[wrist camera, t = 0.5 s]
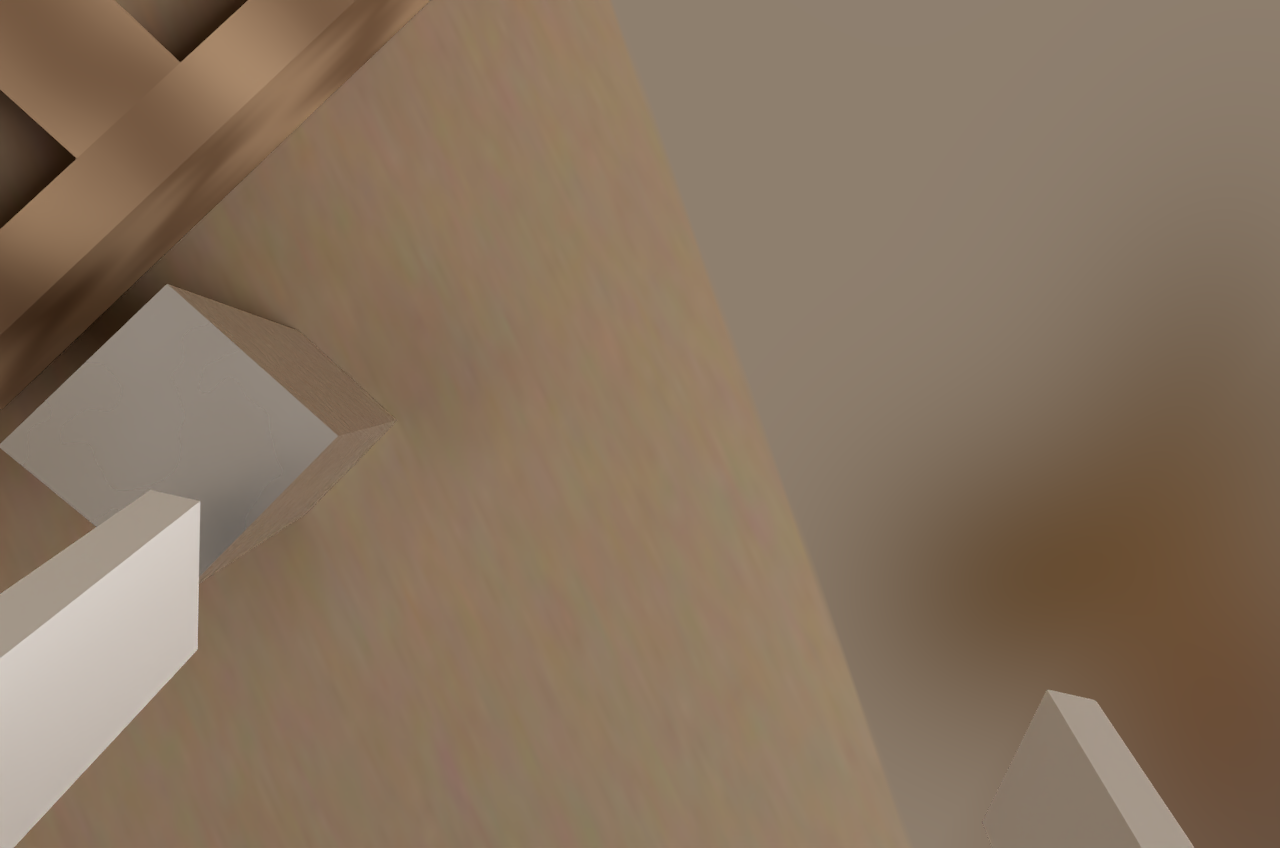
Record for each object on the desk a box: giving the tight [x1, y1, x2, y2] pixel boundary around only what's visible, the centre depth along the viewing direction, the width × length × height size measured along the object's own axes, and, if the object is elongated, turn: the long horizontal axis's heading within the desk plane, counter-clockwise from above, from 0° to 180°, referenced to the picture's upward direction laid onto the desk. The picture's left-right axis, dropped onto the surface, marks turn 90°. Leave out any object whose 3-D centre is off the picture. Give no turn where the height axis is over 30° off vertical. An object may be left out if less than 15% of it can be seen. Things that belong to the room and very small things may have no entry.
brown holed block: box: [0, 0, 430, 409], centre depth 25 cm, size 20×10×4 cm, turn 137°
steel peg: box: [0, 284, 397, 583], centre depth 23 cm, size 4×4×12 cm
